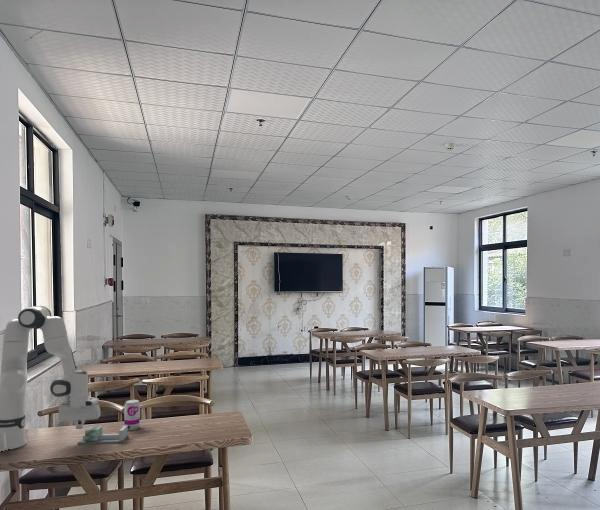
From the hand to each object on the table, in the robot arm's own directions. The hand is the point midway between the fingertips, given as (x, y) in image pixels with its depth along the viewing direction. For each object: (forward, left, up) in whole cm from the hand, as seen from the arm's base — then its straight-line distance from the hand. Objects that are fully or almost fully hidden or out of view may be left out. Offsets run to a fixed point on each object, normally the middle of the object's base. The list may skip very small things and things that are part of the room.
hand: (79, 428), depth 228 cm
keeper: (+7, 0, -5) cm, 9 cm away
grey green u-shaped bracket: (+12, 0, -7) cm, 14 cm away
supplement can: (+21, +19, -7) cm, 29 cm away
